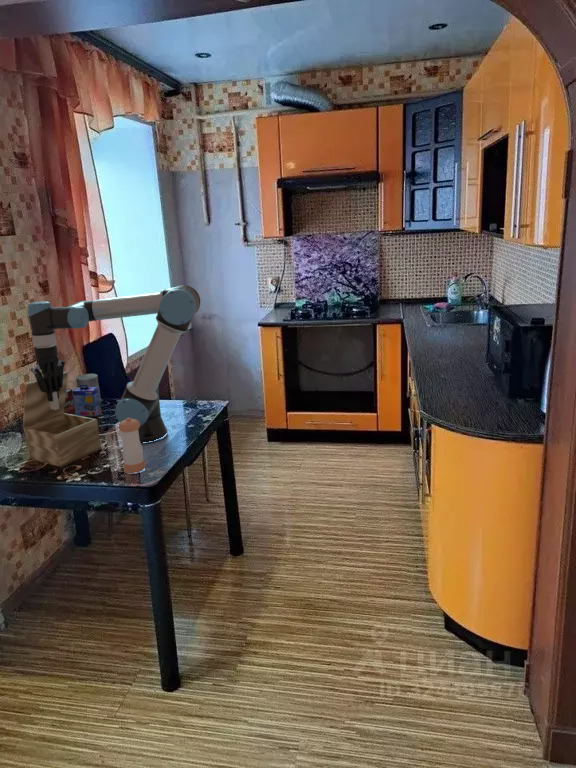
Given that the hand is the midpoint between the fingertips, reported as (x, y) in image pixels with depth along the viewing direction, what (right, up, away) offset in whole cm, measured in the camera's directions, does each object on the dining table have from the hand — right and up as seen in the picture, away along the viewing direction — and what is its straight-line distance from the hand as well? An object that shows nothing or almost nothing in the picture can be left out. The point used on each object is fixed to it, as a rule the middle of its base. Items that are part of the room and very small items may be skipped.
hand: (55, 408), depth 203 cm
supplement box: (-8, -10, +32) cm, 34 cm away
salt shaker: (+33, -21, -12) cm, 41 cm away
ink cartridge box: (-5, -5, +48) cm, 48 cm away
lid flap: (-4, +3, +1) cm, 5 cm away
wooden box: (+2, -17, +4) cm, 18 cm away
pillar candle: (-9, -1, +63) cm, 64 cm away
